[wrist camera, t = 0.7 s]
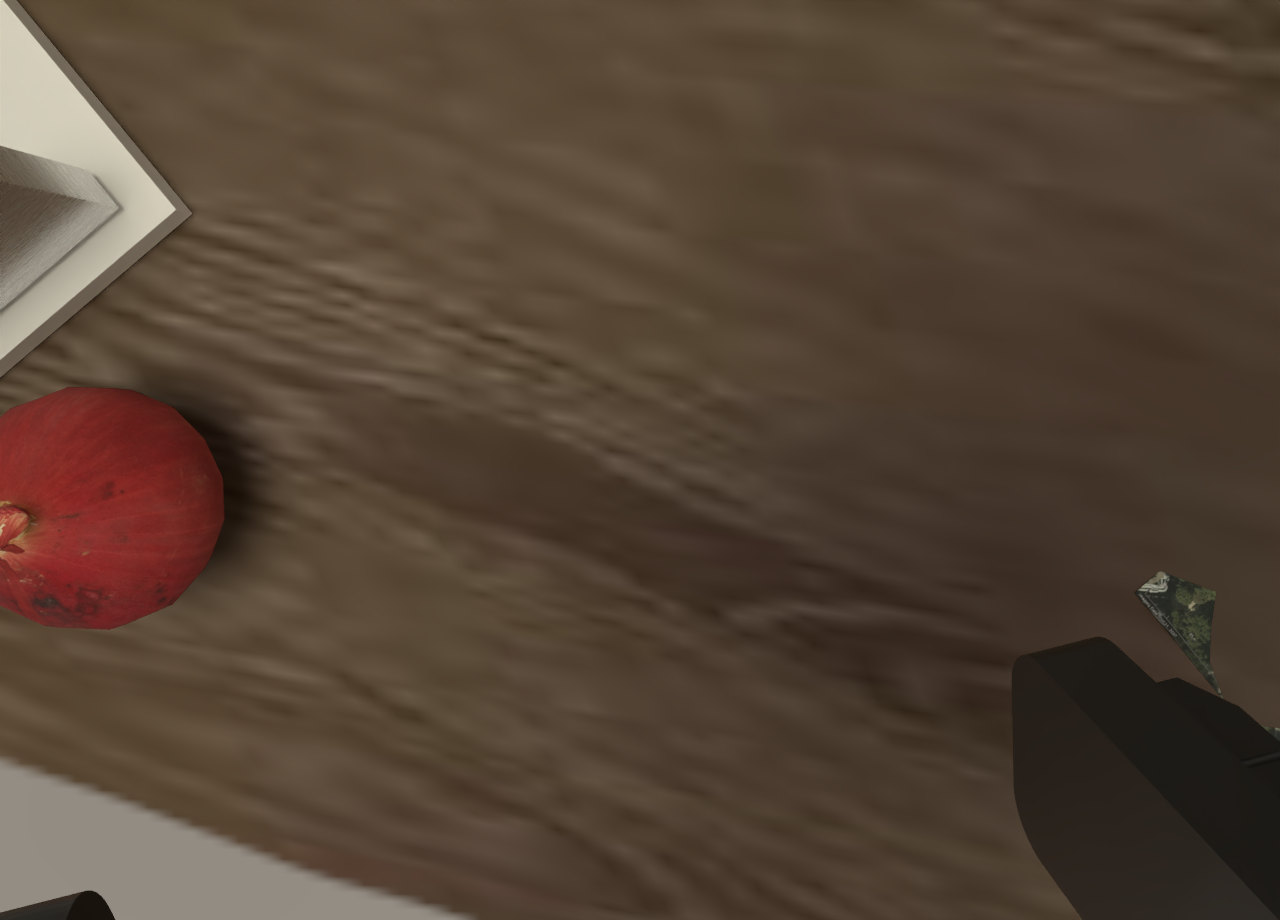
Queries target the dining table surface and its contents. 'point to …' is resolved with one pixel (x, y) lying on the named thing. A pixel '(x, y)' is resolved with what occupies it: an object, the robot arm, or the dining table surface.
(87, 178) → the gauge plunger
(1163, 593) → the eiffel tower figurine
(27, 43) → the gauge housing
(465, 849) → the dining table surface
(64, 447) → the red pomegranate
